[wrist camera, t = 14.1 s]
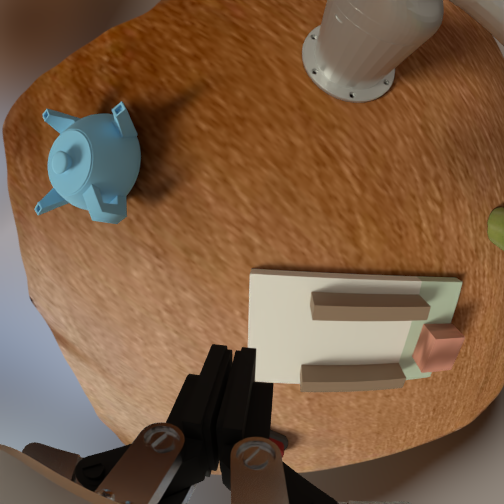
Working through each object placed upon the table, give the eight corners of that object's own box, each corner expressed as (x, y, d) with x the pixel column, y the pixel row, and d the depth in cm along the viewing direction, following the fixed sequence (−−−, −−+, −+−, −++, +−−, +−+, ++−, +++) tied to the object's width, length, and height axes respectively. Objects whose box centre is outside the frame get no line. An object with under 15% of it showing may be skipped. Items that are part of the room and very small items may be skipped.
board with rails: (251, 268, 38) (246, 285, 32) (456, 277, 35) (476, 292, 29) (248, 372, 43) (243, 397, 37) (425, 370, 40) (437, 390, 34)
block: (423, 323, 35) (435, 339, 31) (452, 323, 35) (465, 337, 30) (411, 356, 37) (421, 372, 33) (439, 354, 36) (450, 369, 32)
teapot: (67, 205, 38) (20, 217, 28) (77, 115, 34) (31, 107, 24) (142, 219, 38) (99, 236, 27) (157, 113, 33) (116, 96, 23)
